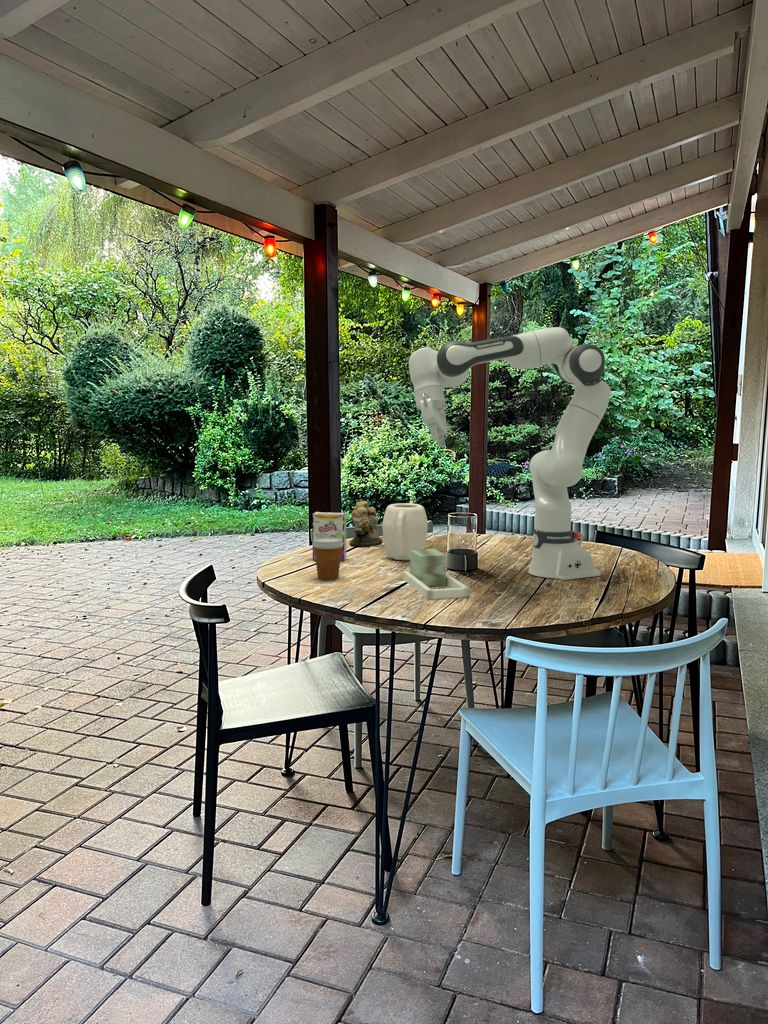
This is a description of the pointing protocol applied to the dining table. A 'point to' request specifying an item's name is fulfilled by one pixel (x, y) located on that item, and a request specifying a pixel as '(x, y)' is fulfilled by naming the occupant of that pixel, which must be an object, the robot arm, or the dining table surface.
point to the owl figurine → (365, 526)
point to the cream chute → (453, 592)
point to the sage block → (428, 566)
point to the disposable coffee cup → (327, 557)
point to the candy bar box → (330, 528)
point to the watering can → (404, 529)
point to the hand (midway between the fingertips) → (439, 443)
